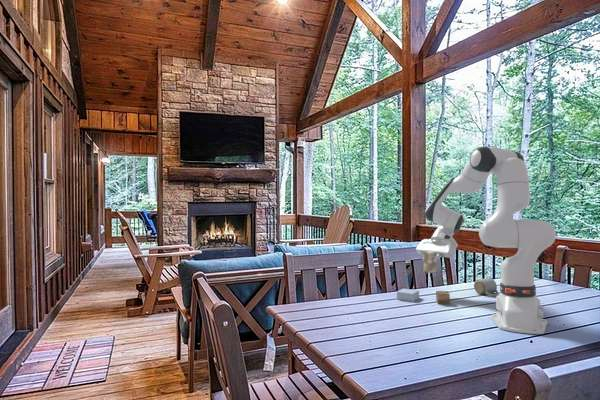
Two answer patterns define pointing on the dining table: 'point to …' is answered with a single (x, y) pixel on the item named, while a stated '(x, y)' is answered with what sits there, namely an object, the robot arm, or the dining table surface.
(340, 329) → the dining table surface
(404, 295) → the slate slab
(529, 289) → the robot arm
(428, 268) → the birch pillar
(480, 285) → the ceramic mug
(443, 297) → the walnut cube
